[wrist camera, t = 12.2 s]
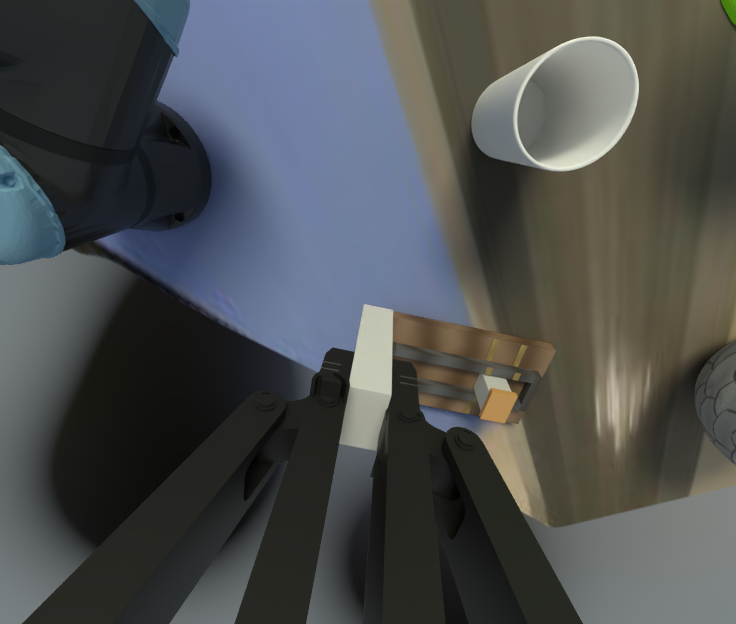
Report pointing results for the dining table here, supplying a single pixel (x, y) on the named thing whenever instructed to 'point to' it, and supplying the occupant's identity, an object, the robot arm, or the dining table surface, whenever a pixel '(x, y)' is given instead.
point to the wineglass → (730, 9)
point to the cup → (559, 106)
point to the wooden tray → (467, 362)
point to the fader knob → (494, 397)
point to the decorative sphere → (719, 400)
